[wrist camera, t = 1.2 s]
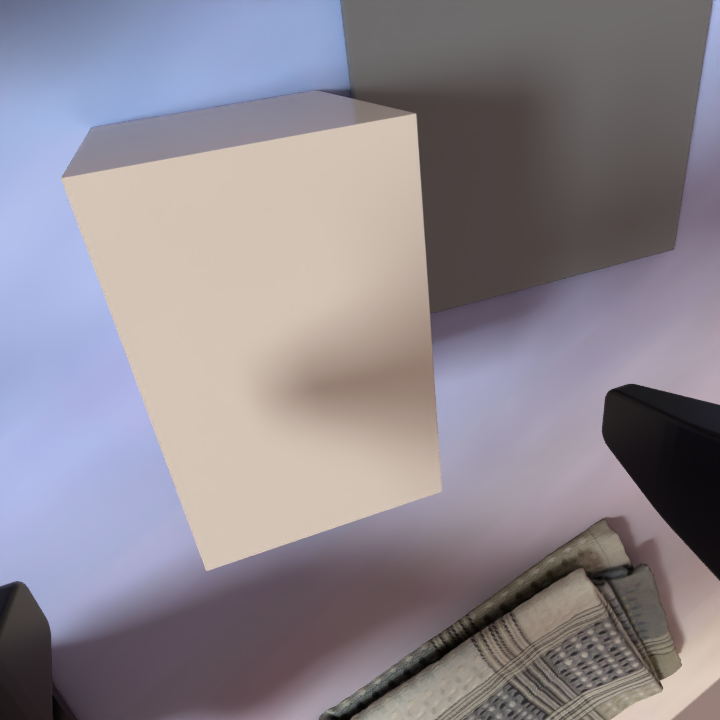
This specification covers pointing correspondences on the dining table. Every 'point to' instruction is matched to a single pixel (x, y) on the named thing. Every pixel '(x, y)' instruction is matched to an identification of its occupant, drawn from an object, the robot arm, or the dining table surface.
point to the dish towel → (538, 647)
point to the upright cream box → (270, 308)
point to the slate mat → (536, 129)
